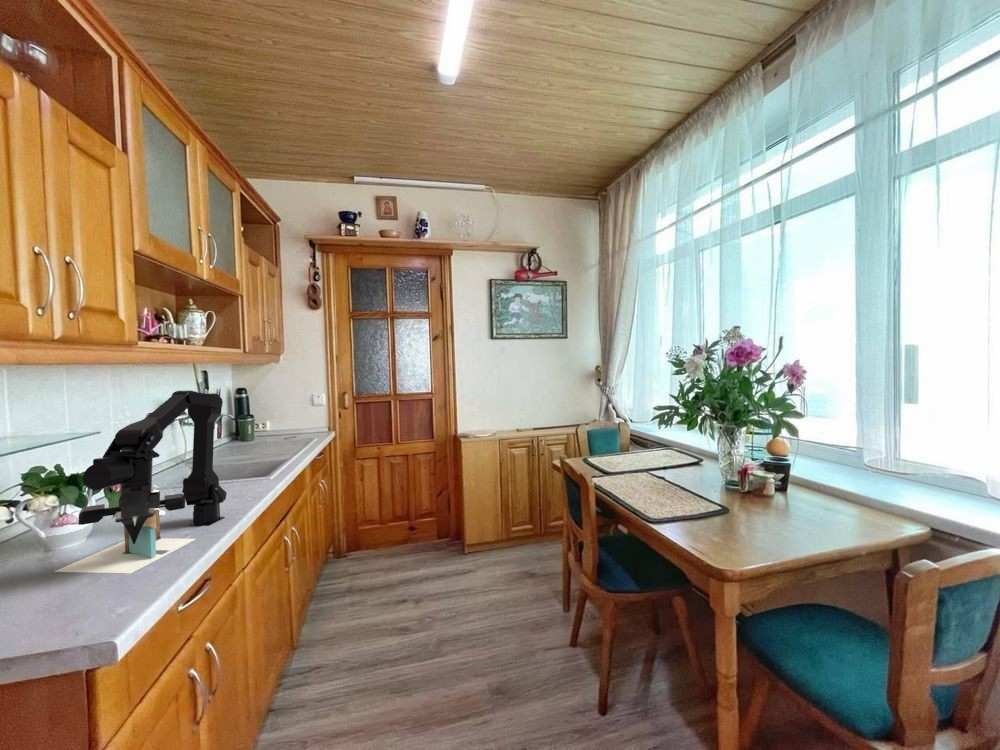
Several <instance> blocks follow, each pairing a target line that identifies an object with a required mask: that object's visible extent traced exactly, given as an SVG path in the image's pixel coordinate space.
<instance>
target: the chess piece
mask: <svg viewBox="0 0 1000 750" xmlns="http://www.w3.org/2000/svg"><path fill="white" fill-rule="evenodd" d="M158 488H159V486H157V485H156V484H153V486H152V491H151V493H152V492H160V490H159V489H158ZM157 509H159V515H160V516H163V515H164V516H165V515H166V511H165V510H161V508H156V509H154V510H157Z"/></svg>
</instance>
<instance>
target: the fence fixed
mask: <svg viewBox="0 0 1000 750" xmlns="http://www.w3.org/2000/svg"><path fill="white" fill-rule="evenodd" d="M159 509H160V508H159ZM159 509H157V510H154V511H153V512H154V516H153V517H149V518H148V519H147V520H146V521H145V523H144V524H143V526H147V527H152V528H155V539H156V540H157V539H160V538H161V523H160V522H161V519H160V516H161V515H159ZM135 523H136V520H135V521H134V524H135ZM123 530H124V541H125V553H130V552H129V533H128V530H127V529H126V527H125V526H124V525H123Z"/></svg>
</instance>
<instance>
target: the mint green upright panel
mask: <svg viewBox="0 0 1000 750" xmlns="http://www.w3.org/2000/svg"><path fill="white" fill-rule="evenodd" d="M134 527H135V524H134ZM129 552H131V553H135V554H139V555H142V556H146V557H150V558H152V557H155V556H156V539H155V528H152V527H147V526H142V528H141V530H140V533H139V535H138V537H137V540H136V543H135V544H133V542H132V540H131V537H130V535H129Z"/></svg>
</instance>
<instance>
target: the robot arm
mask: <svg viewBox="0 0 1000 750" xmlns="http://www.w3.org/2000/svg"><path fill="white" fill-rule="evenodd" d="M223 403H224V402H223V399H222V397H221V396H220V395H219V394H218V393H214V392H213V393H211V392H210V393H204V392H198V391H195V390H177V391H174V392H173V393H172V394H171V396H170V397H169V398H168V399H167V400H165V401H164V402H163V403H162V404H160V405H159V406H158V407H157V408H155V409H154V410H153V411H152V412H151V413H150V414H148V415H147V416H146V417H145V418H143V419H141V420H138V421H136V422H135V421H134V422H132V423H130V424H128V425H126V426H124V427H122V428H121V429H120V430H118V431H117V432H116V433H115V435H114V438H113V439H112V441H111V443H110V444H109V445H108V448H107V449H106V451H105V452H104V454H103V455H102V458H101V457H99V458H94V459H93V460H92V465H90V466H88V467H87V468H86V469H85V472H84V474H82V481H83V483H84V485H85V487H86V488H88V489H89V490H92V491H101V490H103V489H106V488H110V487H114V486H118V485H119V499H118V505H117V506H111V507H106V503H102V504H96V505H89V506H88V505H87V506H83V508H80V511H79V513H78V520H77V521H78V526H81V525H89V524H95V523H99V522H100V521H102V519H103V518H104V517H108V516H109V517H110V516H114V517H115V521H114V522H115V523H121V524H122V525H123V527H124V526H125V527H126V529H127V530H128V533H129V535H130V537H131V540H132V542H133V544H135V543H136V540H137V537H138V535H139V533H140V530H141V528H142V526H143V524H144V523H145V521H146V520H147V519H148V518H149V517H153V516H154V512H153V511H154V509H156V508H159V509H161V508H162V509H163V508H164V509H165V510H167V511H177V510H182V509H183V510H184V509H186V506H193V511H192V522H191V523H190V524H188V525H189V526H192V527H194V526H195V527H196V526H197V527H206V526H207V527H209V526H211V525H214V524H215V523H217V522H220V521H221V520H223V519H225V516H221V508H220V507H221V506H220V504H221V503H224V502H225V500H226V499H227V494H228V493H227V492H226V490H225V489H223V488H222V487H221V486H220V479H219V476H218V475H217V474H216V472H215V470H214V468H213V467H214V441H215V439H214V438H215V422H216V420H217V419H218V418H219V417H220V415H221V414H222V408H223ZM186 410H187V415H188V417H189V418H190V420H191V421H192V422H193V438H192V439H193V440H192V441H193V443H192V444H193V445H192V464H191V465H192V466H191V473H190V474H189V475H188V476H187V477H184V478H183V480H182V490H181V493H176V494H175V493H174V494H169V495H164V497H163V499H161V492H160V491H159V492H152V493H151V491H153V489H152V487H153V486H152V485H153V459H155V458H159V457H160V456H161V455H160V454H159V453H158V452H156V451H155V450H154V449H155V448H156V447H157V446H158V444H159V443H160V442H161V440H162V439H163V437H164V431H165V429H167V428H168V426H169V425H171V424H172V423H174V421H175V420H176V419H178V418H179V417H180V416H181V415H182V414H183V413H184V412H185V411H186ZM134 518H136V519H135V521H136V523H135V527H134V522H135V521H134Z"/></svg>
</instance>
